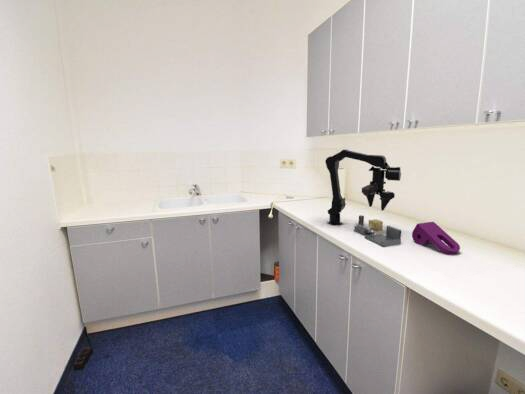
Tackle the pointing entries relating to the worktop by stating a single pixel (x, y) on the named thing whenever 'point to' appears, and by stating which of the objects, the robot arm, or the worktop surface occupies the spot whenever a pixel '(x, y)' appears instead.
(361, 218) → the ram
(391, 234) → the frame
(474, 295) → the worktop surface
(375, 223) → the block
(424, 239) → the mounting bracket
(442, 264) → the worktop surface
